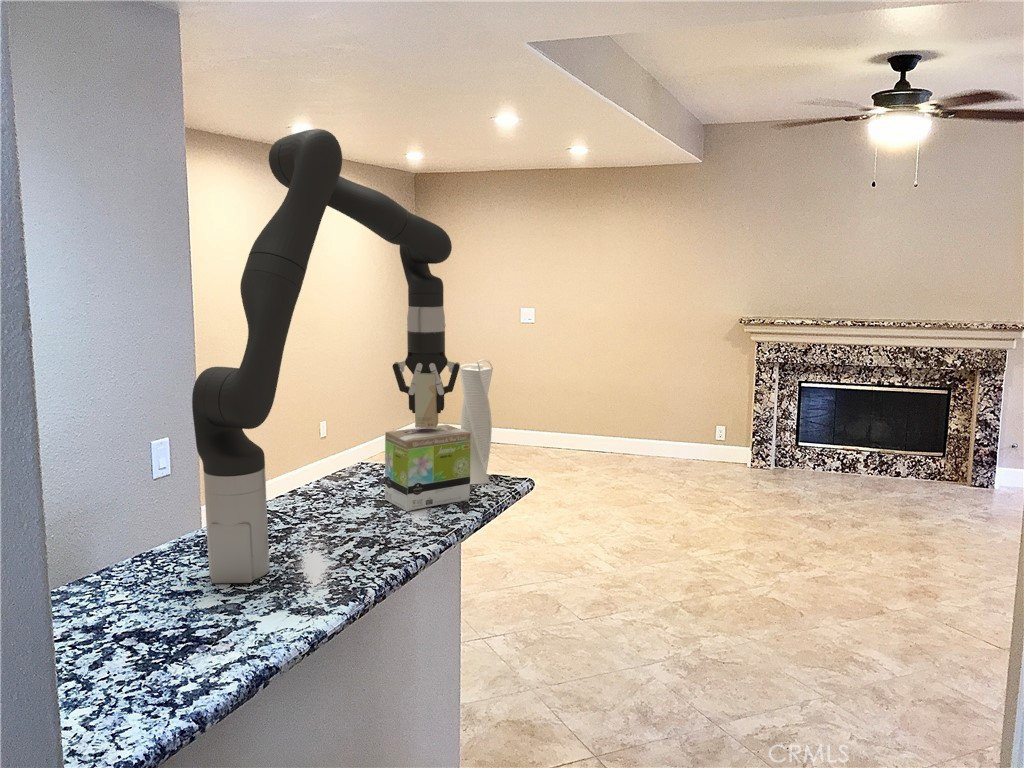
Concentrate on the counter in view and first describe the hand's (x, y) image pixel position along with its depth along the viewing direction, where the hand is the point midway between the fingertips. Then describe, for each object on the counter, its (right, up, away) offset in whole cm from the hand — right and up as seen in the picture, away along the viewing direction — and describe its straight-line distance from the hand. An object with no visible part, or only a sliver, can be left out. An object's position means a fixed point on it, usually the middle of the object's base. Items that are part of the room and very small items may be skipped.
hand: (426, 412), depth 169 cm
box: (0, -3, +1) cm, 3 cm away
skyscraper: (+9, -16, +17) cm, 26 cm away
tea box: (0, -19, +3) cm, 19 cm away
